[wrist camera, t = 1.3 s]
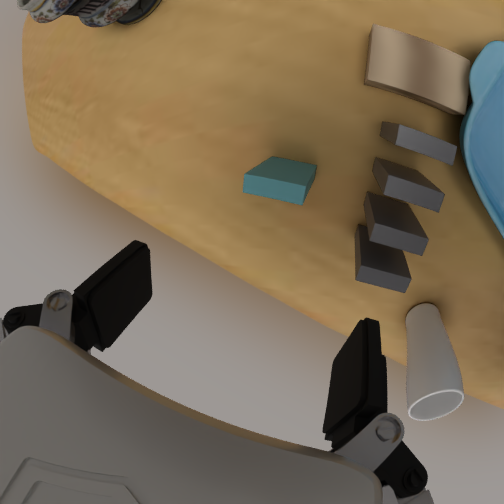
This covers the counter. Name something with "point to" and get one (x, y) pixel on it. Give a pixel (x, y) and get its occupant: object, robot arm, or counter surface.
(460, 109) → the oak block
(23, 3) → the apothecary jar
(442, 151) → the domino
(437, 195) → the domino
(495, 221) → the casserole dish
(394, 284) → the domino
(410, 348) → the drinking glass
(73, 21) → the counter surface
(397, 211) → the domino
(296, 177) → the domino teal
